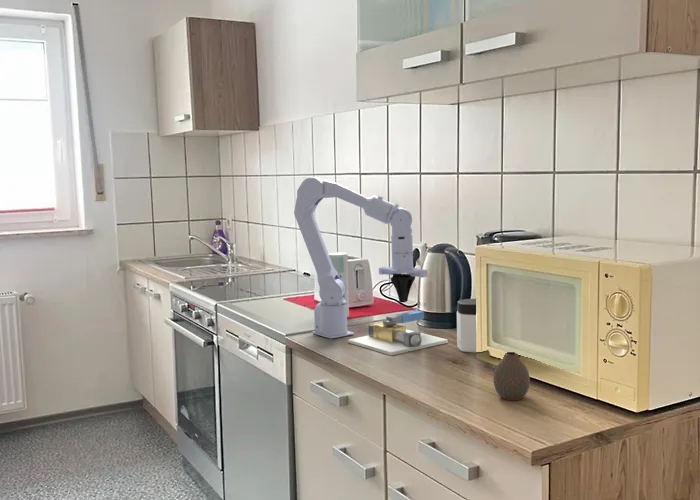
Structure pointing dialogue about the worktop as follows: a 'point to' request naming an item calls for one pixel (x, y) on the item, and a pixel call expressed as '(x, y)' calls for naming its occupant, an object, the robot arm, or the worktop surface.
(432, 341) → the board
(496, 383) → the vase
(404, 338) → the valve
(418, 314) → the lever
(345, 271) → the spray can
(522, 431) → the worktop surface
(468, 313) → the jar
